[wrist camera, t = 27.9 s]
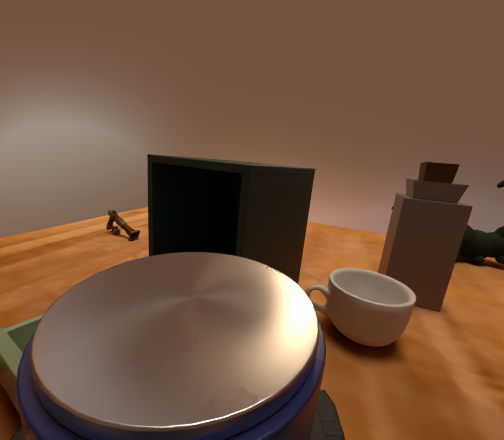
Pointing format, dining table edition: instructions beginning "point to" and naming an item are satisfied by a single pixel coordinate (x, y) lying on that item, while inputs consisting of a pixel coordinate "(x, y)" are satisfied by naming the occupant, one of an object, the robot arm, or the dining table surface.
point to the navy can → (175, 355)
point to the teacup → (366, 305)
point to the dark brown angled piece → (121, 225)
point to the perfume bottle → (426, 233)
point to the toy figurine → (482, 244)
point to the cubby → (229, 209)
